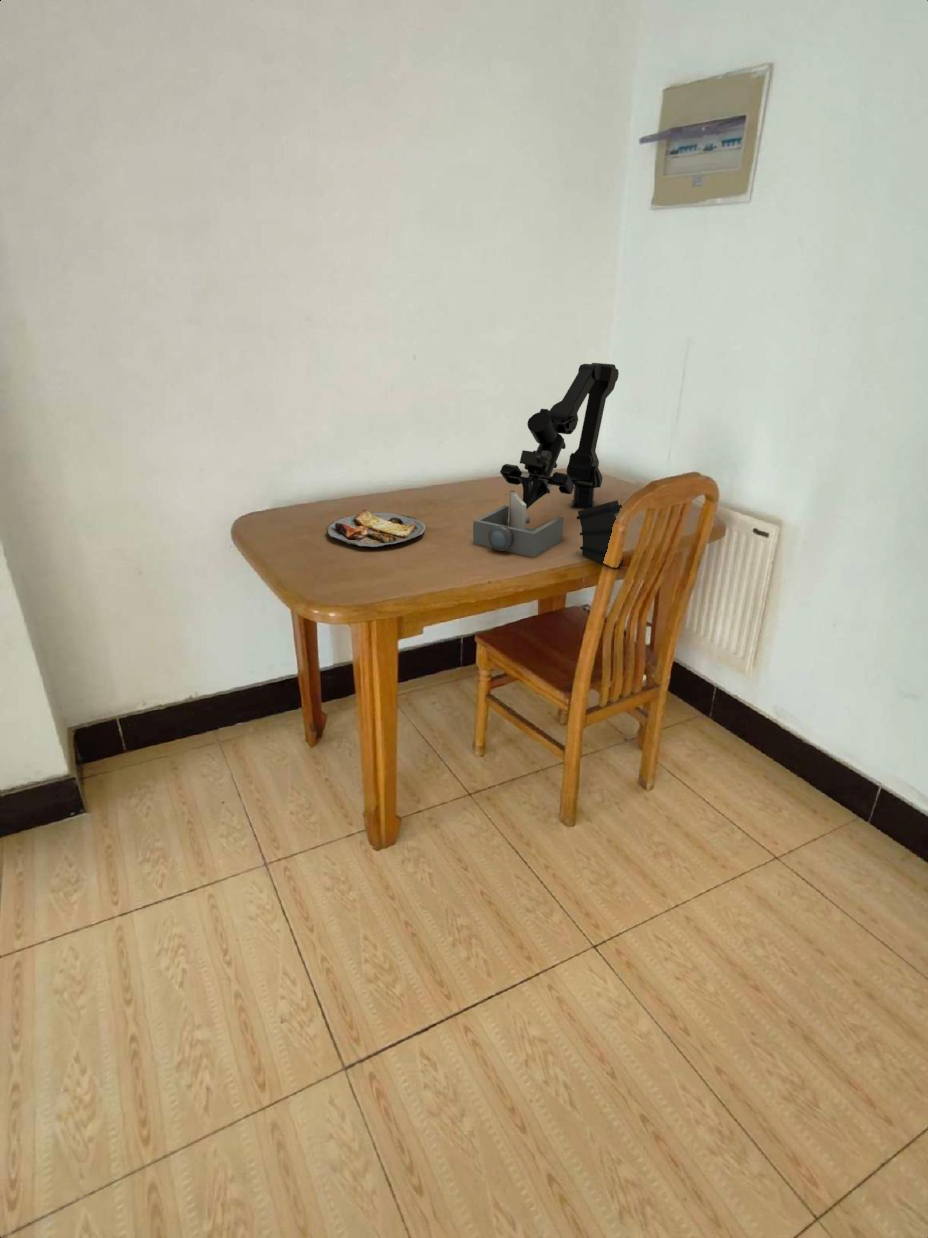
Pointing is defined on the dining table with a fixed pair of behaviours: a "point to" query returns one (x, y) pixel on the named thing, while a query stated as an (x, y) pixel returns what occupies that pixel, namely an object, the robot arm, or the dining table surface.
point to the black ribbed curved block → (597, 529)
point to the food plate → (375, 528)
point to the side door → (517, 512)
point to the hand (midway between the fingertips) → (524, 508)
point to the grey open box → (515, 534)
